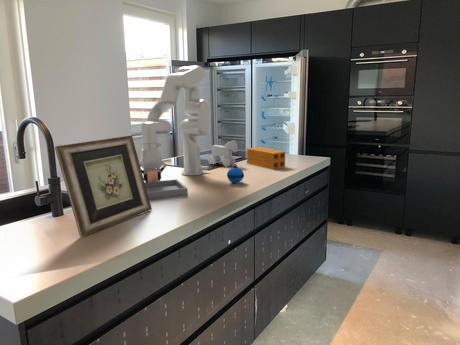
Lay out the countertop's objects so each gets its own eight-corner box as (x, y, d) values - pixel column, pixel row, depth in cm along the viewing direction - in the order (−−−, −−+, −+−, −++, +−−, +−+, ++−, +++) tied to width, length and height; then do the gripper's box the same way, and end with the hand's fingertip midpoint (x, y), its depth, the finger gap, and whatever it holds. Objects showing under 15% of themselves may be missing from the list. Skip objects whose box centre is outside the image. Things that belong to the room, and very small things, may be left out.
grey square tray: (177, 185, 188) (177, 179, 188) (187, 195, 170) (187, 188, 169) (137, 190, 181) (136, 183, 180) (143, 201, 163) (143, 193, 162)
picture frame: (82, 237, 123) (72, 147, 116) (64, 232, 128) (53, 145, 121) (152, 210, 150) (147, 136, 143) (134, 207, 155) (129, 135, 148)
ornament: (224, 184, 190) (224, 165, 188) (230, 180, 198) (230, 162, 195) (240, 185, 187) (240, 166, 185) (245, 181, 195) (245, 162, 193)
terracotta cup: (157, 182, 196) (156, 167, 194) (159, 185, 190) (158, 170, 188) (146, 184, 193) (145, 168, 192) (147, 186, 188) (146, 171, 186)
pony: (241, 165, 238) (240, 139, 234) (232, 168, 229) (232, 141, 226) (215, 162, 248) (214, 137, 245) (206, 165, 240) (205, 139, 236)
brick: (285, 167, 229) (285, 151, 227) (273, 169, 224) (273, 153, 222) (258, 161, 250) (258, 147, 248) (246, 163, 244) (246, 148, 242)
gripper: (165, 144, 194) (167, 177, 198) (131, 146, 188) (134, 181, 192) (168, 146, 187) (170, 180, 191) (133, 148, 181) (136, 184, 185)
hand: (152, 180), depth 191 cm, fingers closed on terracotta cup, 6 cm apart
